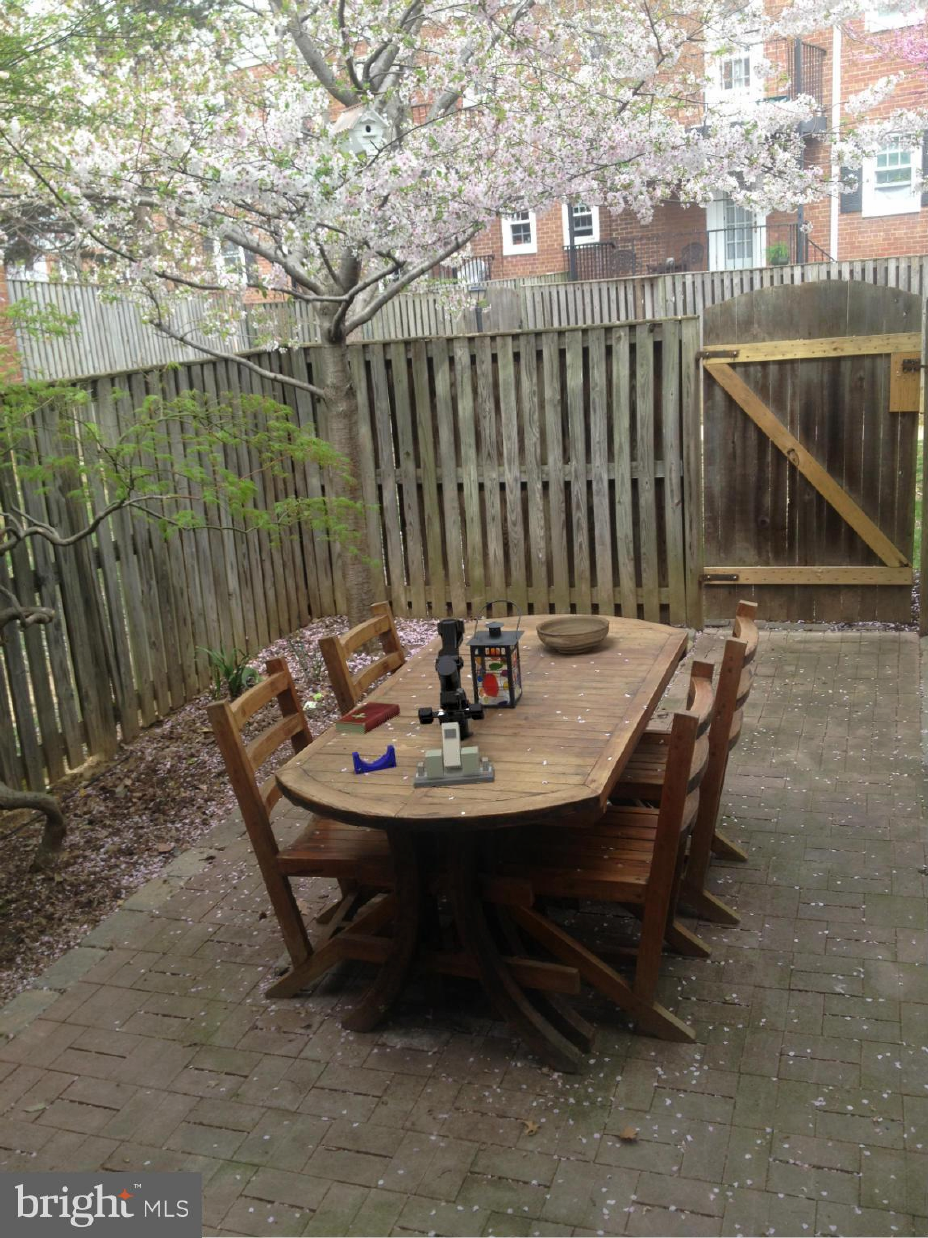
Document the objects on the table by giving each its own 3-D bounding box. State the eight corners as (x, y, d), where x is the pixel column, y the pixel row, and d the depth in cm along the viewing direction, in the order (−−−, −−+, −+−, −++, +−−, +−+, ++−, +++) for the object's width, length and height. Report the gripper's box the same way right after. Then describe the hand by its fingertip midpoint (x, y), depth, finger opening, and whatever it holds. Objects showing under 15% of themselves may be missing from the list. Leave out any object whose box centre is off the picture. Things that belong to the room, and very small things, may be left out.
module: (446, 768, 299) (443, 726, 303) (462, 767, 299) (459, 725, 303) (444, 765, 294) (441, 723, 298) (460, 764, 294) (457, 721, 298)
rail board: (416, 776, 303) (413, 748, 301) (493, 769, 302) (491, 742, 300) (414, 788, 294) (410, 759, 292) (493, 781, 293) (490, 753, 291)
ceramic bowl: (564, 635, 442) (562, 611, 439) (627, 638, 426) (626, 614, 424) (519, 659, 412) (517, 634, 409) (586, 664, 396) (584, 638, 394)
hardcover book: (400, 715, 360) (399, 703, 359) (365, 736, 343) (363, 723, 342) (371, 712, 366) (369, 700, 365) (335, 733, 349) (333, 720, 348)
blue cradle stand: (393, 762, 316) (391, 743, 315) (396, 767, 312) (394, 747, 310) (353, 770, 313) (351, 750, 312) (356, 775, 309) (353, 755, 307)
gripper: (414, 681, 305) (416, 730, 296) (480, 676, 304) (483, 725, 295) (419, 699, 314) (421, 747, 306) (483, 694, 313) (486, 742, 305)
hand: (452, 740), depth 303 cm, fingers closed
